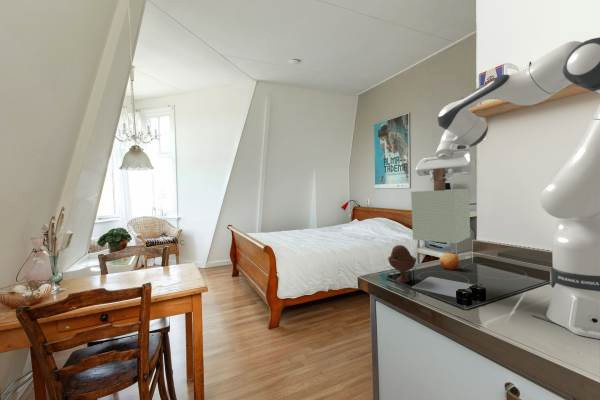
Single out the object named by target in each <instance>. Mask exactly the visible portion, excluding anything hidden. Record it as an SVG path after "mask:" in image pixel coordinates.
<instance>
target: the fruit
mask: <svg viewBox="0 0 600 400" xmlns="http://www.w3.org/2000/svg"><path fill="white" fill-rule="evenodd" d="M439 263H440V265H441V267H442V268H443V269H447V270H450V271H454V270H459V267H460V266H459V264H460V258H459V256H458V255H457V254H455V253H450V252H449V253H445V254H442V255H441V256H440V257H439Z"/></svg>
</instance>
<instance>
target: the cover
mask: <svg viewBox="0 0 600 400" xmlns="http://www.w3.org/2000/svg"><path fill="white" fill-rule="evenodd" d="M444 174H445V169H442V168H441V169H433V177H434V181H433V189H432V190H419V191H418V190H416V191H410V198H411V221H412V222H411V223H412V225H411V226H412V240H414V241H415V240H416V241H417V240H418V241H426V242H436V243H445V244H446V243H447V244H448V243H449V244H458V243H460V242H462V241H465V240H467V239H469V238H471V222H470V221H471V217H470V216H471V215H470V214H471V213H470V212H471V211H470V190H469V188H458V189H455V188H454V189H446V181H443V175H444Z"/></svg>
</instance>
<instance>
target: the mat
mask: <svg viewBox="0 0 600 400" xmlns="http://www.w3.org/2000/svg"><path fill="white" fill-rule="evenodd" d="M472 285H474V284H471V283H466V282H462V281H455V280H451V279H445V278H439V277H434V276H428V277H427V278H425V279H423V280H421V281H419V282H417V283H416V284H414V285H413V286H411V288H412V289H416V290H420V291H426V292H429V293H435V294H438V295H443V296H446V297H447V296H448V297H452V298H456V291H457V290H458V289H467V288H469V287H470V286H472Z"/></svg>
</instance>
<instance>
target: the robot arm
mask: <svg viewBox="0 0 600 400" xmlns="http://www.w3.org/2000/svg"><path fill="white" fill-rule="evenodd" d="M572 84H573V85H575V86H578V87H581V88H583V89H584V90H585V89H586V90H588V91H590V92H597V93H598V94H599V95H600V36H599V37H595V38H590V39H588V40H584V41H579V40H578V41H577V40H574V41H573V40H572V41H569V42H565V43H564V44H562V45H560V46H559V47H557V48H555V49H553V50H551V51H550V52H548V53H547V54H545V55H543V56H542V57H540V58H539V59H538V60H536V61H535V62H533V63H532V64H531V65H530V66H528V67H526V68H524V69H523V70H520V71H518V72H515V73H511V74H501V75H499V76H496V77H495V78H493V79H491V80H488V81H487V82H485V83H484V84H481V85H480V86H479V87H477V88H475V89H474V90H472V91H470V92H469V93H467V94H466V95H464V96H462V97H461V98H459V99H457V100H454V101H452V102H450V103H448V104H447V105H445V106H444V107H443V108H442V109H441V110H440V111H439V112H438V115H437V123H438V126H439V127H441V128H442V129H444V132H443V133H442V136H441V138H440V141H439V144H438V146H437V149H436V151H435V153H434V155H433V156H426V157H424V158H422V159H420V160H419V161H418V163H417V164H416V167H415V172H416V174H417V175H418V176H420V177H421V176H422V177H423V176H430V177H429V179H430V181H431V183H432V182H433V183H434V177H433V169H441V168H442V169H445V174H444V175H443V181H445V182H446V181H447V182H448V181H449V179H450V178H451V177H452V176H453V175H454V174H461V173H470V172H472V171H473V170H474V169H475V161H474V160H475V159H474V153H473V150H472V147H474V146H475V147H476V146H478V144H480V143H481V142H483V141H484V139H485V138H486V136H487V135H488V132H489V124H488V123H487V122H486V121H485V120H483V119H482V118H481V117H479V116H477V115H476V114H475V113H473V112H472V111H471V110H470V109H472V108H473V107H476V106H477V105H479V104H481V103H483V102H485V101H488V100H501V101H503V102H508V103H511V104H514V105H518V106H534V105H537V104H539V103H542V102H544V101H546V100H547V99H549V98H551V97H552V96H554V95H555V94H557V93H559V92H560V91H562V90H563V89H565V88H566V87H568V86H570V85H572ZM539 201H540V205H541V208H542V209H543V210H544V211H545V212H546V213H547V214H548V215H550V216H552V217H554V218H557V222H556V226H555V231H554V234H553V236H552V240H551V254H552V255H551V256H552V257H551V258H552V266H551V267H550V271H549V278H550V279H549V280H550V285H551V296H550V301H549V305H548V308H547V310H546V313H545V315H546V316H545V317H547V319H548V320H550V321H551V322H553V323H555V324H557V325H559V326H561V327H563V328H566V329H567V330H568V331H570V332H572V334H575V335H579V336H583V337H588V338H593V339H596V340H597V339H598V340H600V104H599V105H598V107H597V109H596V111H595V112H594V115H593V116H592V118H591V120H590V122H589V123H588V125H587V127H586V129H585V131H584V132H583V135H582V136H581V137H580V141H579V142H578V143H577V145H576V147H575V149H574V150H573V151H572V153H571V154H570V156H569V157H568V158H567V160H566V161H565V162H564V163H563V165H562V166H561V168H560V169H559V170H558V171H557V173H556V174H555V176H554V177H553V178H552V180H551V181H550V183H549V184H547V186H546V187H545V188H544V189H543V190H542V192H541V194H540V197H539Z"/></svg>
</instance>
